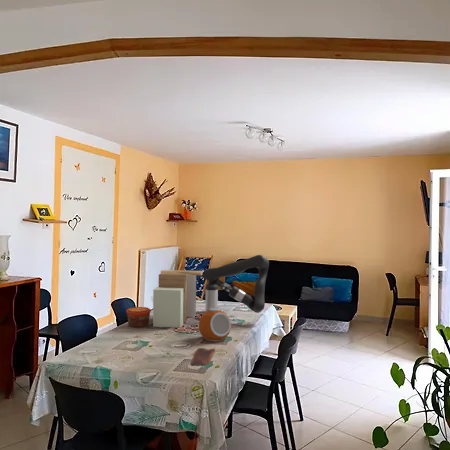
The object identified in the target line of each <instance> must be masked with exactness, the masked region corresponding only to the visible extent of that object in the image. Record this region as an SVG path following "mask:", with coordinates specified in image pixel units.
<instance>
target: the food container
mask: <svg viewBox="0 0 450 450" xmlns="http://www.w3.org/2000/svg"><path fill="white" fill-rule="evenodd" d="M125 312H126V316H127V322H128V324H127V325H128V327H130V328H134V329H138V328H139V329H140V328H145V327H148V326H149V325H150V323H149V322H150V316H151V312H152V310H151V308H150V307H147V306H146V307H145V306H143V307H142V306H136V307H129V308H127V309H126V311H125Z"/></svg>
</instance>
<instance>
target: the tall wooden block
mask: <svg viewBox="0 0 450 450" xmlns="http://www.w3.org/2000/svg"><path fill="white" fill-rule="evenodd" d="M158 287H159V288H183V324H186V323H187V322H188V321H189V317H186V299H187V275H161V273H159V274H158Z"/></svg>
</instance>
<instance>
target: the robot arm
mask: <svg viewBox="0 0 450 450" xmlns="http://www.w3.org/2000/svg"><path fill="white" fill-rule="evenodd" d="M269 267H270V261H269V260H268V259H267V258H266V257H265V256H264V255H262V254H258V255H253V256H252V257H251V256H250V257H249V258H245V259H243V260H237V261H233V262H229V263H227V264H224V265H222V266H218V267H211V268H210V267H209V268H207V269H205V271H204V272H203V273H202V276H203V278H204V279H205V280H206V281H208V282H207V284H206V285H205V302H204V303H205V312H207V311H209V310H210V309H211V308H218V307H219V304H218V303H219V299H218V297H219V293H218V292H219V287H220V289H221V290H224V291H225V292H226V293H229V294H228V296H230V298H232V299H233V300H236V301H237V302H240V303H242V304H243V305H245V306H246V307H247V308H249V309H250V311H252V312H253V313H257V314H259V313H261V312H262V311H263V310H264V309H265V305H266V304H265V303H266V301H265V289H266V288H265V287H266V281H267V277H268V270H269ZM252 268H257V270H258V278H257V280H256V281H255V284H254V290H253V291H254V293H253V297H254V299H253V297H252V295H250V294H248V293H247V292H245V291H244V290H242V289H241V288H239V287H237V286H236V285H233V287H232V285H230V284H228V283H227V282H226V281H223V280H221V279H220V278H225V277H231V276H233V277H234V276H236V275H241V274H242V273H244V272H245V271H246V270H249V269H252ZM205 312H204V313H205Z"/></svg>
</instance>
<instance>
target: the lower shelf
mask: <svg viewBox="0 0 450 450" xmlns="http://www.w3.org/2000/svg"><path fill="white" fill-rule="evenodd" d="M152 291H153V295H152V296H153V300H152V302H153V304H152V314H153V315H152V316H153V317H152V319H153V320H152V324H153V325H152V327H161V328H181V327H182V326H183V325H184V323H183V288H159V286H158V287H157V286H156V288H153V290H152Z"/></svg>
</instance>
